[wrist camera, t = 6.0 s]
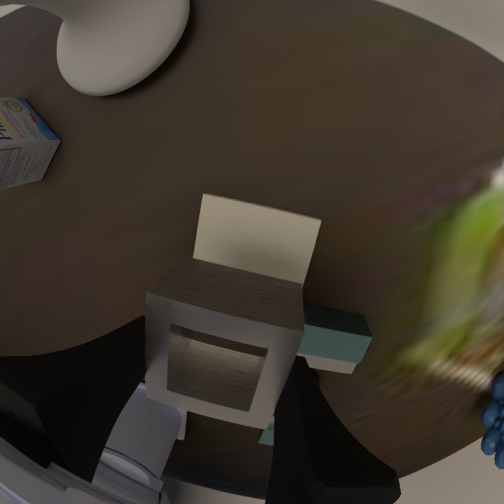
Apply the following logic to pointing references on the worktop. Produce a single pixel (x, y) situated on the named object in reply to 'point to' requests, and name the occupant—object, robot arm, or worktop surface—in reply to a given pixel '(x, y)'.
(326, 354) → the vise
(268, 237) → the mat
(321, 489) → the robot arm
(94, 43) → the flower in vase
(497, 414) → the grapes
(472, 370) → the worktop surface
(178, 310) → the grey hollow block
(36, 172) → the medicine box
